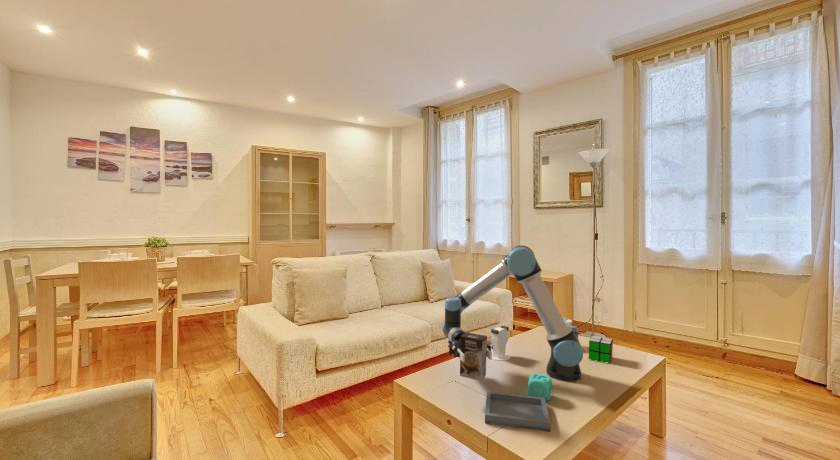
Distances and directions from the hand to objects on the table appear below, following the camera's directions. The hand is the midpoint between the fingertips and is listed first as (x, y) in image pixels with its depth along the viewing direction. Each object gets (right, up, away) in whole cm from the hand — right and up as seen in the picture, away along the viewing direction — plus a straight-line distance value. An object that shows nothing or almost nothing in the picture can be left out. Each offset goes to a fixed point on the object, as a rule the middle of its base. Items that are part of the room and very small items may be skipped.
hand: (477, 357), depth 143 cm
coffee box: (-1, -9, +4) cm, 10 cm away
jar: (+58, -17, +68) cm, 91 cm away
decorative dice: (+27, -19, +9) cm, 34 cm away
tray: (+14, -19, -5) cm, 24 cm away
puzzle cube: (+72, -18, +50) cm, 89 cm away
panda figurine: (+19, -17, +51) cm, 57 cm away
